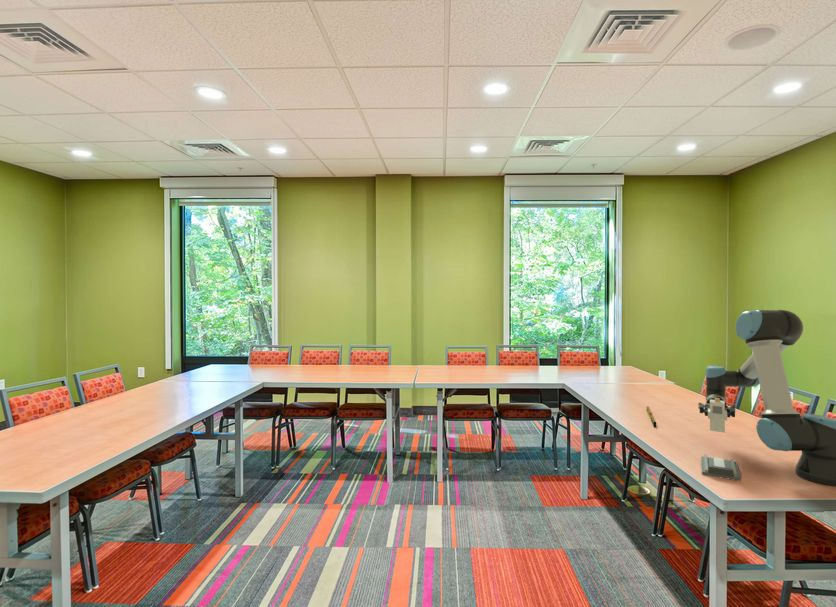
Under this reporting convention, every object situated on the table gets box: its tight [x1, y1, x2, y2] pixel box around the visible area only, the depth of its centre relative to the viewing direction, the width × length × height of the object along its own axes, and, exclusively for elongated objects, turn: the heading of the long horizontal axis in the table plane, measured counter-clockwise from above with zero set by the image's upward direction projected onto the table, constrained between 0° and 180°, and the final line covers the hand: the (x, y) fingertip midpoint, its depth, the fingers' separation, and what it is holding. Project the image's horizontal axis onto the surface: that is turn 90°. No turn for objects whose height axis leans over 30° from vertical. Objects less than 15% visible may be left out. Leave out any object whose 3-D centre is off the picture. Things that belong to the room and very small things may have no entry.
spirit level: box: [646, 406, 657, 428], centre depth 244 cm, size 33×1×3 cm, turn 158°
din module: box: [709, 398, 726, 433], centre depth 181 cm, size 5×5×13 cm
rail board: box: [700, 454, 741, 481], centre depth 173 cm, size 12×19×3 cm, turn 148°
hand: (717, 416), depth 177 cm, fingers closed on din module, 5 cm apart
